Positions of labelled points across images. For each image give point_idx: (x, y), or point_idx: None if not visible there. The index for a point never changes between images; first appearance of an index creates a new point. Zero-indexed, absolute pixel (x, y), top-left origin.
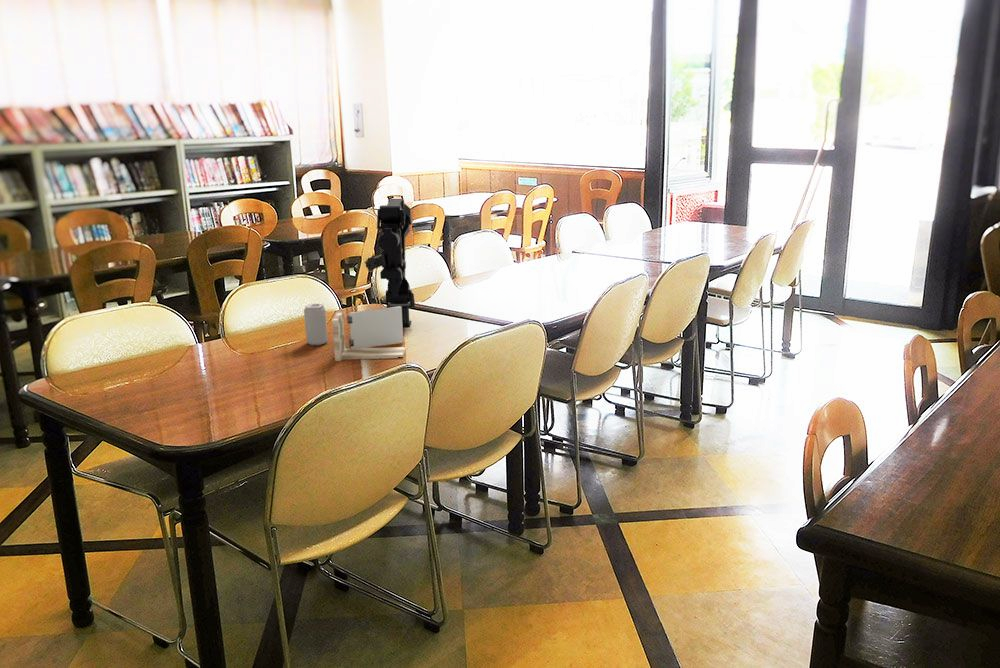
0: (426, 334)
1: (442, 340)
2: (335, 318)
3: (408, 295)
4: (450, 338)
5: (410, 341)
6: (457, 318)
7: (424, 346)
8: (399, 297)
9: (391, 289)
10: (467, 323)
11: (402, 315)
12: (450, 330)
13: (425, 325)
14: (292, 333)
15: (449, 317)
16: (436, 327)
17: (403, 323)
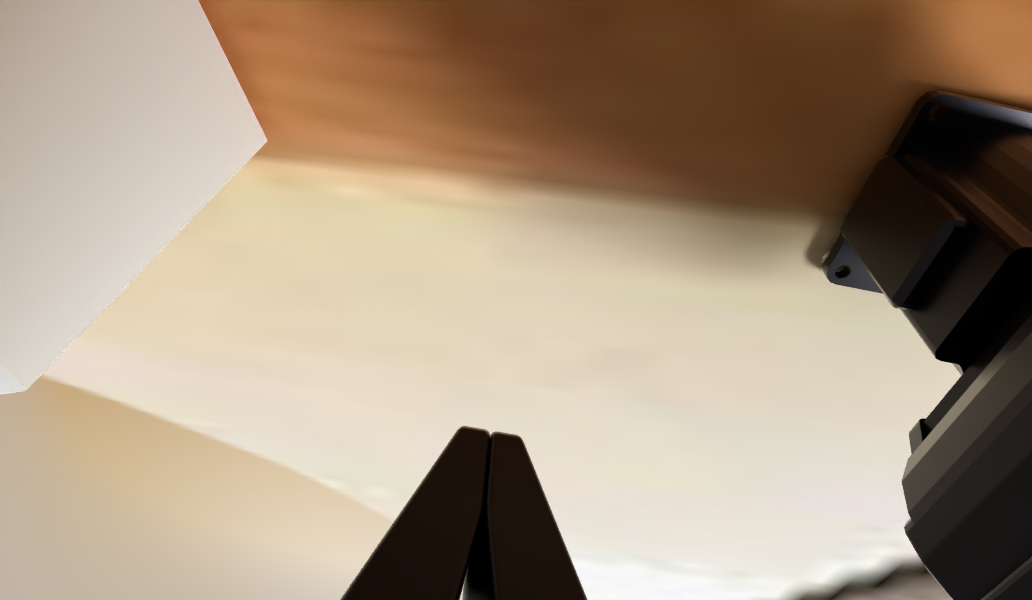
0: (512, 349)
1: (316, 411)
2: None
3: (922, 560)
4: (362, 455)
5: (311, 209)
6: (871, 564)
7: (152, 287)
8: (988, 443)
9: (370, 557)
10: (706, 579)
11: (888, 284)
12: (571, 487)
13: (804, 383)
14: None
15: None
16: (696, 434)
17: (848, 239)
